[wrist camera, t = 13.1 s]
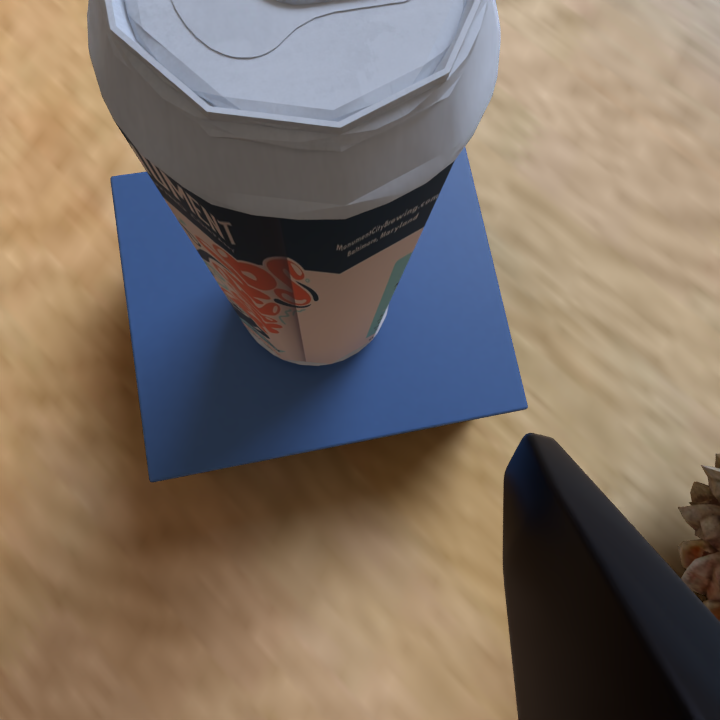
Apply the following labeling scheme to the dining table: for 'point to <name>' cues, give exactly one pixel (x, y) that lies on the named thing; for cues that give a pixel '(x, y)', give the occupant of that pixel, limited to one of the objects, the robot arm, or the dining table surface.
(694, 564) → the pine cone
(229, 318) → the container
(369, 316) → the beer can
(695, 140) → the dining table surface
